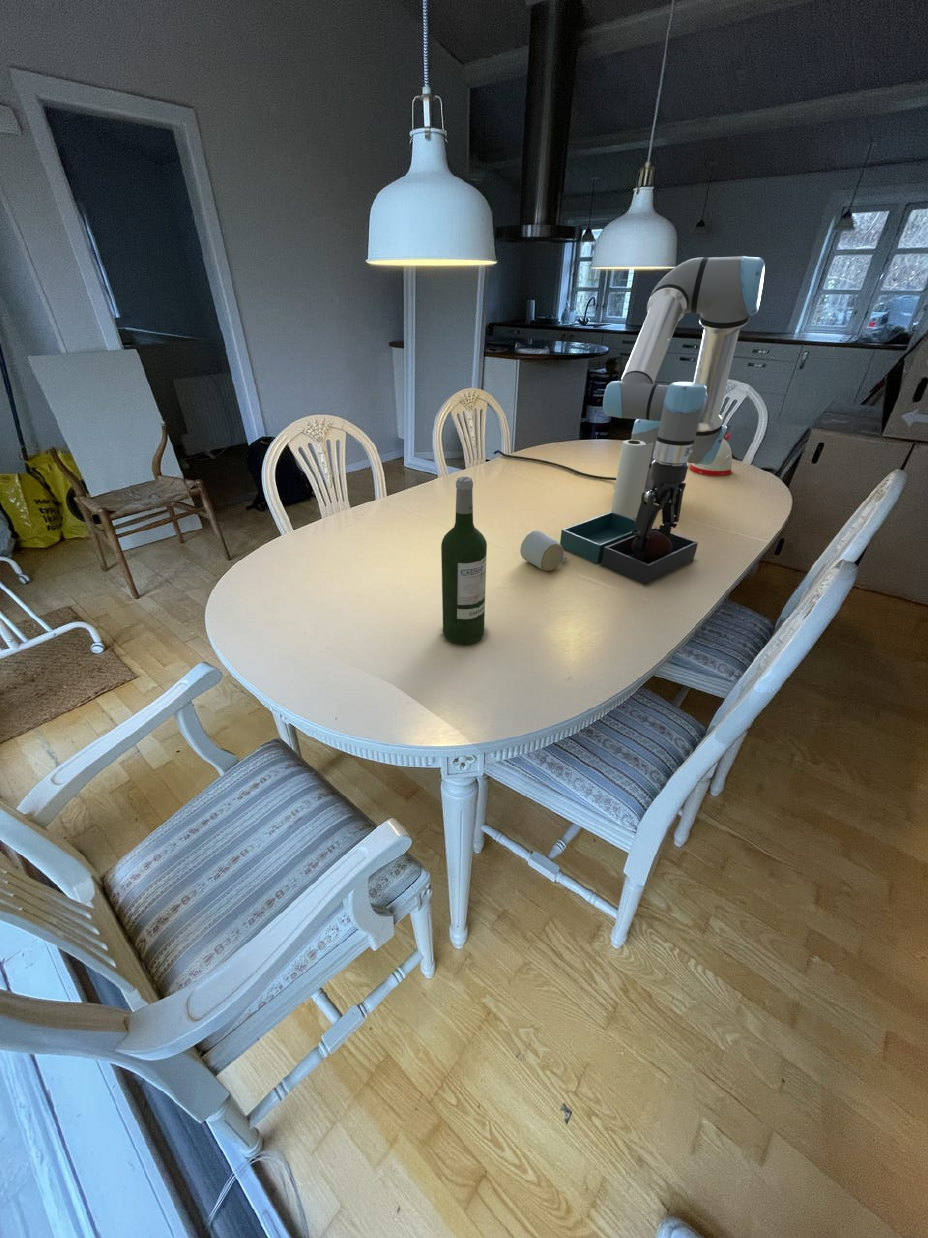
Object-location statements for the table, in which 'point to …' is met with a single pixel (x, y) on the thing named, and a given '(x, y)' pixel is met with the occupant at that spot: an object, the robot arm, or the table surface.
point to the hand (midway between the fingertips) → (649, 556)
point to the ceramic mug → (542, 551)
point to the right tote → (624, 564)
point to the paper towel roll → (631, 477)
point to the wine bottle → (463, 572)
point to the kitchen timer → (717, 461)
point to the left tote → (596, 535)
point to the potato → (656, 546)
